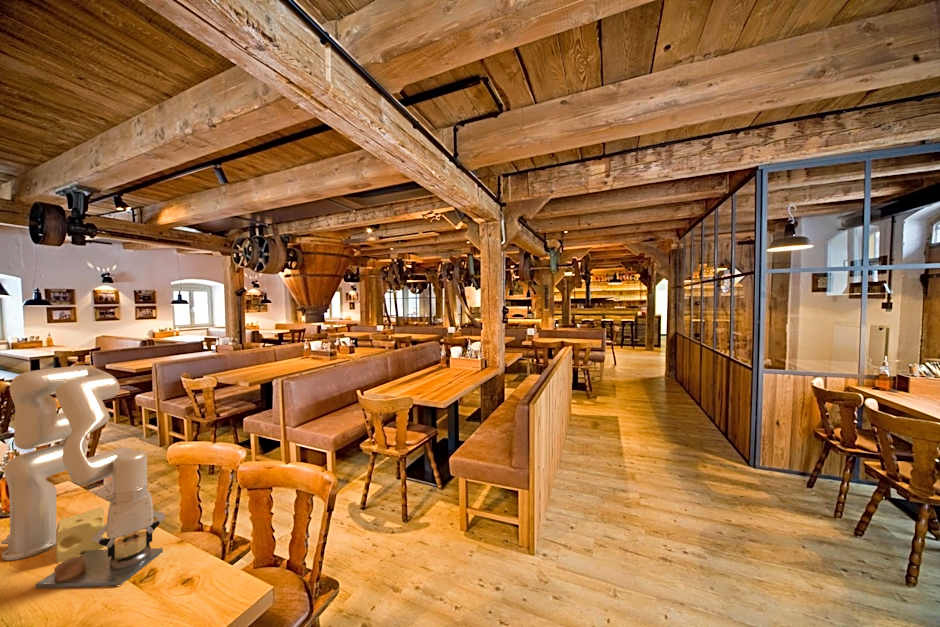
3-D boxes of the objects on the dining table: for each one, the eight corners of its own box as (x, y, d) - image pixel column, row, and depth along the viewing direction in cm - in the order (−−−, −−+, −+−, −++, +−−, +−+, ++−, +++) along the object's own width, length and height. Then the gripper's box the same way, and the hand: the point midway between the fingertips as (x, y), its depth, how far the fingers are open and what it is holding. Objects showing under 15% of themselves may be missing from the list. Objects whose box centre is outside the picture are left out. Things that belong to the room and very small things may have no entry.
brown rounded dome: (47, 586, 97) (47, 571, 97) (71, 570, 103) (71, 556, 103) (69, 585, 98) (69, 570, 98) (92, 569, 104) (92, 555, 104)
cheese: (104, 547, 113) (104, 517, 113) (53, 565, 106) (53, 532, 106) (104, 534, 121) (104, 505, 121) (56, 549, 113) (56, 518, 113)
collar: (114, 561, 101) (114, 549, 101) (114, 550, 106) (114, 538, 106) (147, 549, 106) (147, 538, 106) (145, 539, 111) (145, 528, 111)
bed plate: (35, 588, 97) (35, 584, 97) (89, 553, 111) (89, 550, 111) (119, 586, 97) (119, 582, 97) (162, 551, 111) (162, 548, 111)
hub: (100, 574, 102) (100, 550, 102) (129, 553, 111) (129, 530, 111) (132, 573, 102) (132, 549, 102) (158, 552, 111) (158, 530, 111)
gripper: (88, 510, 97) (88, 572, 97) (169, 487, 110) (169, 543, 110) (89, 500, 103) (89, 559, 103) (166, 479, 115) (166, 532, 115)
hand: (130, 550), depth 106 cm, fingers closed on collar, 7 cm apart
